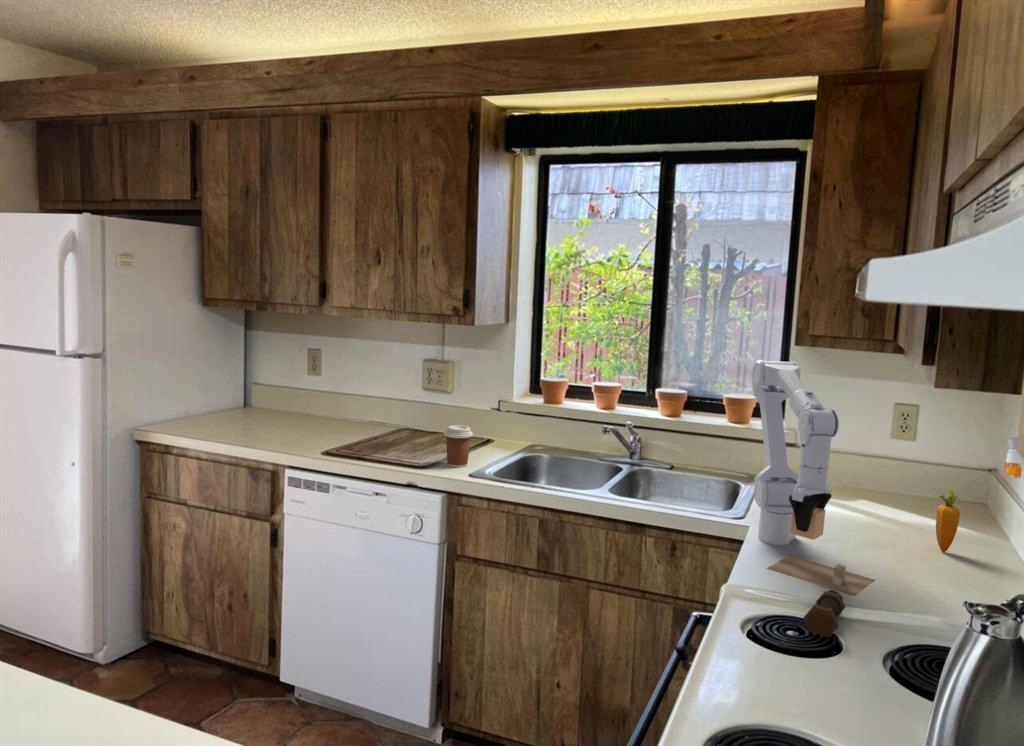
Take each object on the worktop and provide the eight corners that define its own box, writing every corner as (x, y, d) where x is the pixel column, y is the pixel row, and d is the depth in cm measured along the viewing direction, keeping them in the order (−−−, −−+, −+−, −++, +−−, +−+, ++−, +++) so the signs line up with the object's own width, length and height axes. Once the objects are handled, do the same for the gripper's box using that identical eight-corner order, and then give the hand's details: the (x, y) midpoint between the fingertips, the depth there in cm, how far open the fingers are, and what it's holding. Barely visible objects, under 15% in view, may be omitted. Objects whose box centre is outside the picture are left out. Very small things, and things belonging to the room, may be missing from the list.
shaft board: (789, 561, 170) (791, 539, 170) (874, 586, 158) (876, 563, 158) (765, 574, 162) (768, 552, 161) (853, 602, 149) (856, 578, 149)
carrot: (948, 557, 178) (956, 495, 176) (927, 550, 182) (934, 489, 180) (959, 554, 181) (967, 492, 179) (938, 547, 185) (946, 487, 183)
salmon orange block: (799, 528, 167) (802, 503, 166) (822, 534, 163) (825, 508, 163) (790, 533, 163) (792, 507, 162) (813, 539, 160) (816, 513, 159)
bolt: (836, 617, 147) (822, 644, 134) (813, 598, 149) (798, 624, 136) (855, 596, 145) (843, 621, 132) (832, 577, 147) (818, 601, 134)
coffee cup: (460, 460, 246) (462, 423, 245) (477, 466, 239) (479, 428, 237) (437, 463, 240) (438, 425, 239) (453, 469, 233) (454, 431, 232)
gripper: (819, 475, 153) (812, 540, 155) (845, 464, 164) (838, 525, 166) (785, 467, 158) (778, 530, 160) (813, 457, 169) (806, 517, 170)
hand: (807, 527), depth 163 cm, fingers closed on salmon orange block, 5 cm apart
